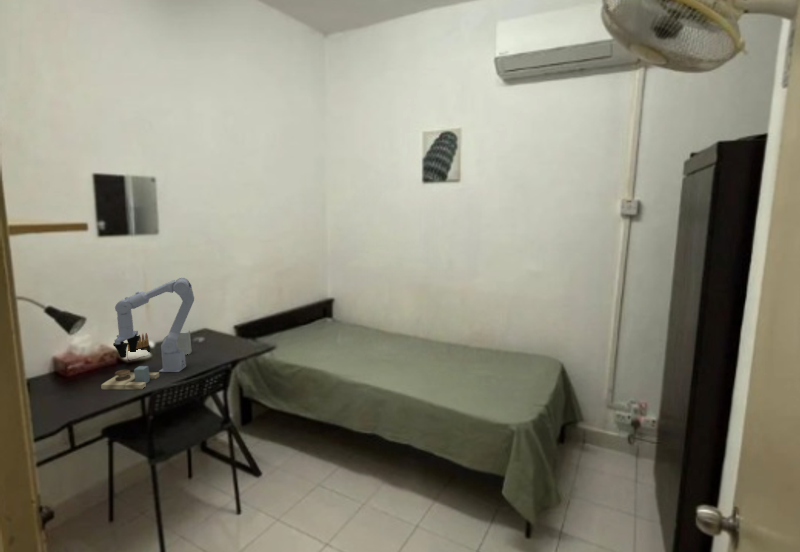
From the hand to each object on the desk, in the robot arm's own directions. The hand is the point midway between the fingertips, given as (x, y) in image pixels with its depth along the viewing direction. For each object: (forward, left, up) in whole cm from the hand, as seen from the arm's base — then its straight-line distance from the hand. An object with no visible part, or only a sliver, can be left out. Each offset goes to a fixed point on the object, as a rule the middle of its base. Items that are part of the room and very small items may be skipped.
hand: (128, 354), depth 198 cm
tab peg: (-11, +10, -10) cm, 18 cm away
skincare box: (-12, -28, -10) cm, 32 cm away
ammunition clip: (+8, -22, -10) cm, 25 cm away
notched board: (-7, +10, -9) cm, 15 cm away
